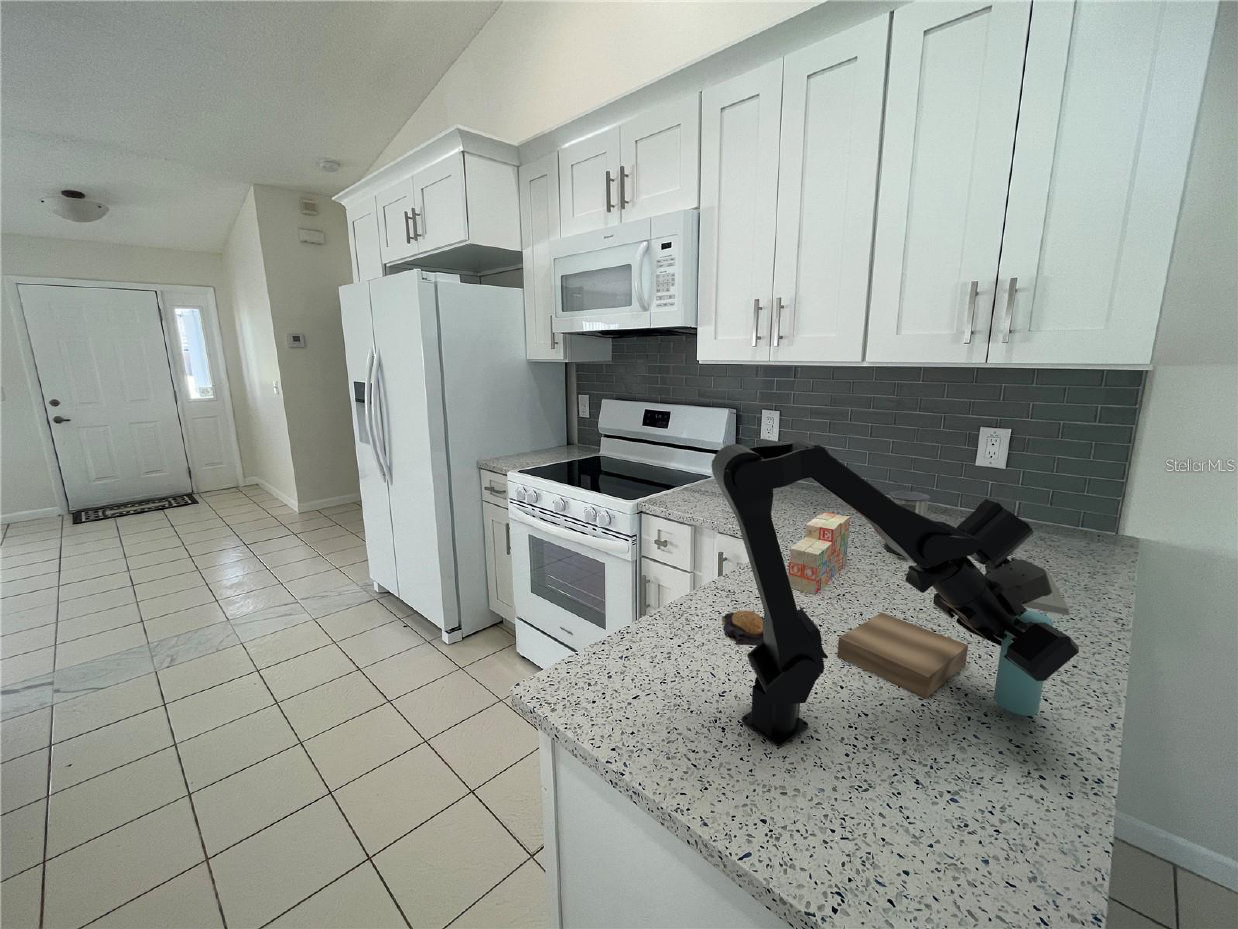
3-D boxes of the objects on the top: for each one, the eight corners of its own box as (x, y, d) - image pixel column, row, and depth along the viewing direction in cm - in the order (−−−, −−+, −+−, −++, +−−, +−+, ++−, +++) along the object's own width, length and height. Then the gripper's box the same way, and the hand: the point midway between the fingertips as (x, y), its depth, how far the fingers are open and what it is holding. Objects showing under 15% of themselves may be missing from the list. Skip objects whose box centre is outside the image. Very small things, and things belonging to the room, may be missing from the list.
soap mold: (1003, 605, 105) (1005, 589, 105) (995, 571, 122) (996, 557, 121) (1069, 618, 100) (1071, 601, 99) (1051, 580, 117) (1053, 565, 116)
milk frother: (879, 543, 140) (884, 489, 137) (945, 546, 136) (951, 491, 133) (894, 563, 126) (900, 504, 123) (967, 568, 123) (975, 507, 120)
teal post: (1031, 720, 69) (1046, 630, 66) (987, 701, 73) (1000, 615, 70) (1043, 706, 72) (1058, 619, 69) (1001, 688, 76) (1013, 605, 73)
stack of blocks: (815, 596, 110) (819, 540, 107) (786, 588, 114) (789, 534, 111) (846, 564, 126) (850, 515, 124) (820, 558, 130) (823, 511, 127)
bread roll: (718, 619, 102) (718, 602, 101) (761, 618, 102) (762, 601, 101) (729, 649, 91) (729, 629, 91) (777, 648, 91) (778, 628, 90)
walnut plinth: (926, 698, 76) (928, 677, 76) (837, 656, 87) (838, 637, 87) (965, 664, 84) (968, 645, 84) (880, 630, 95) (881, 612, 95)
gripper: (1076, 573, 58) (1151, 659, 61) (962, 522, 77) (1023, 590, 79) (999, 640, 60) (1076, 721, 62) (904, 574, 78) (966, 639, 81)
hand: (1032, 660), depth 71 cm, fingers closed on teal post, 5 cm apart
